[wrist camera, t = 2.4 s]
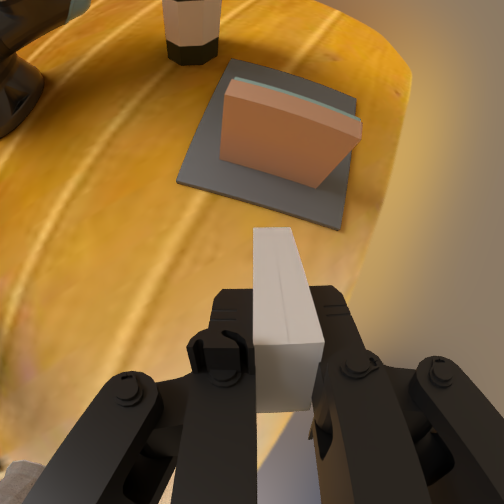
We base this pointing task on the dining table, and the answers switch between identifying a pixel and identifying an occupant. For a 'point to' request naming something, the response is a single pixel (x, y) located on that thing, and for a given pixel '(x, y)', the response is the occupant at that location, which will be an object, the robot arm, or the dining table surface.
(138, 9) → the dining table surface
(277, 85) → the mat
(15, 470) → the pitcher
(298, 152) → the tile
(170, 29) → the wine bottle
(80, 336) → the dining table surface
